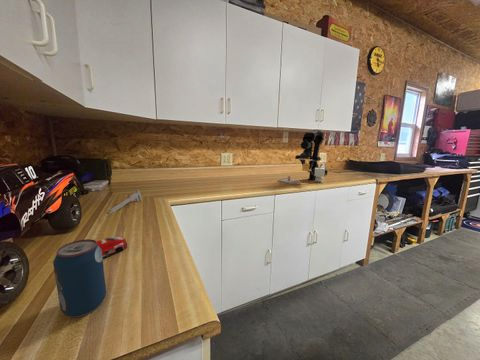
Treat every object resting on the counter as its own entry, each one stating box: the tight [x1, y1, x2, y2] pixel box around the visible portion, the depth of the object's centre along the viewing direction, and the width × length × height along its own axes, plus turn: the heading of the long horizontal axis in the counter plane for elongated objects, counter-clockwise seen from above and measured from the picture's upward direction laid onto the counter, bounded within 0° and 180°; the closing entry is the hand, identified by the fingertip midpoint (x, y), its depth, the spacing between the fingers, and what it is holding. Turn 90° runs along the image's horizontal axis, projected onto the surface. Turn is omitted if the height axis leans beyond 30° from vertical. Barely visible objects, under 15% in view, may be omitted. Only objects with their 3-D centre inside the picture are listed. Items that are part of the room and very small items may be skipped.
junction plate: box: [277, 175, 301, 185], centre depth 168 cm, size 13×13×4 cm
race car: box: [96, 236, 128, 260], centre depth 55 cm, size 13×5×4 cm, turn 146°
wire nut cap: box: [301, 162, 311, 172], centre depth 162 cm, size 5×5×6 cm
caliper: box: [107, 188, 142, 214], centre depth 96 cm, size 20×1×6 cm, turn 170°
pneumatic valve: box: [312, 166, 328, 183], centre depth 171 cm, size 6×12×12 cm, turn 77°
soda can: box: [52, 238, 107, 318], centre depth 38 cm, size 7×7×12 cm
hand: (306, 168), depth 163 cm, fingers closed on wire nut cap, 5 cm apart
